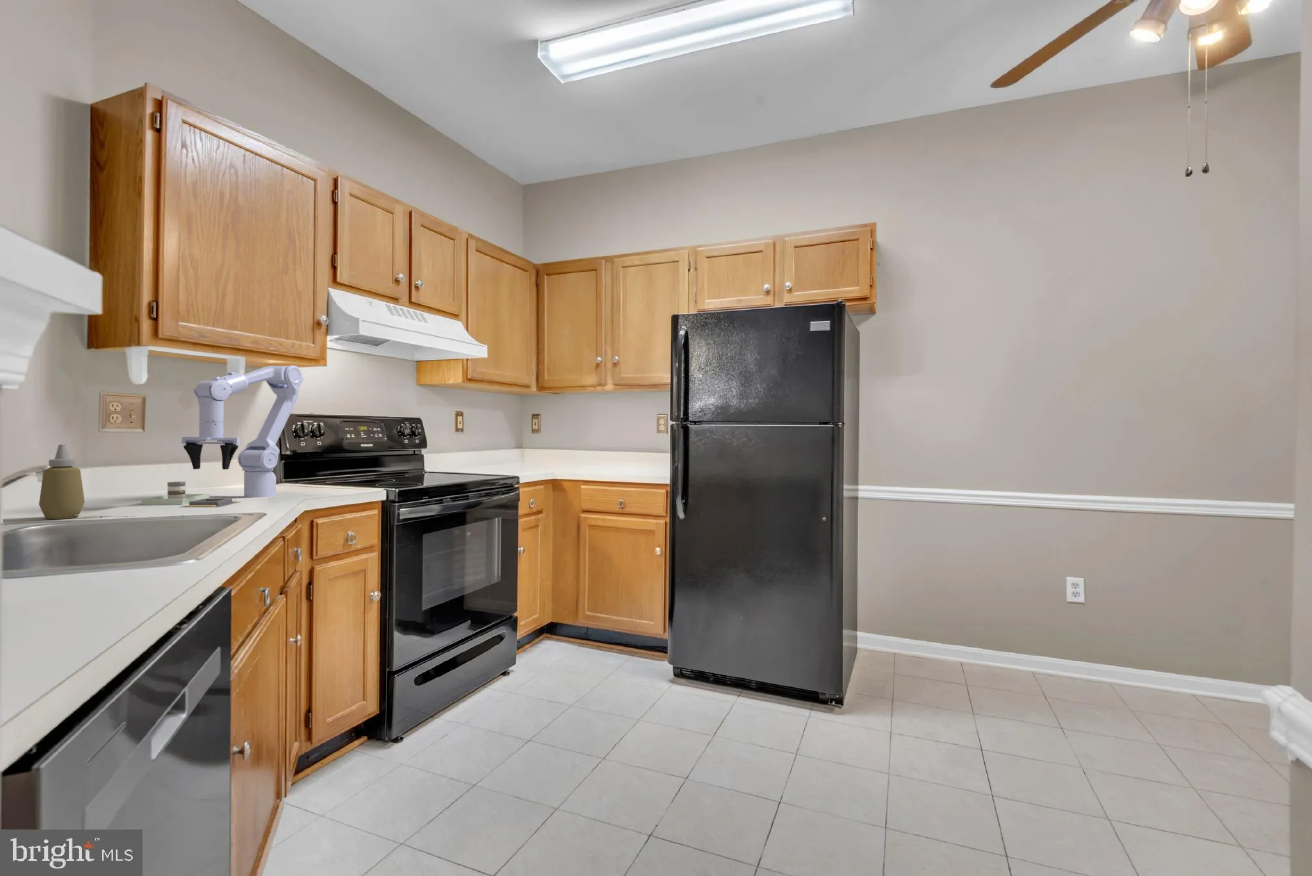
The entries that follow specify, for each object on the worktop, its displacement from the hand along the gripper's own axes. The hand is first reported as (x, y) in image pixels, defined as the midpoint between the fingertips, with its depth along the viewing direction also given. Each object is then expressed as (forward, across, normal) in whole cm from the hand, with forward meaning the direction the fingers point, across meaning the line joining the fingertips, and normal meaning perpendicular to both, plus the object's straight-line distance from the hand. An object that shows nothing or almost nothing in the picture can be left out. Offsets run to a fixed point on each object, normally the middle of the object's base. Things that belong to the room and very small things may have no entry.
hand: (211, 469), depth 177 cm
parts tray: (+10, -9, 0) cm, 14 cm away
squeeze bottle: (+11, -21, -24) cm, 33 cm away
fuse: (+10, -9, 0) cm, 13 cm away
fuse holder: (+10, +3, -6) cm, 12 cm away
